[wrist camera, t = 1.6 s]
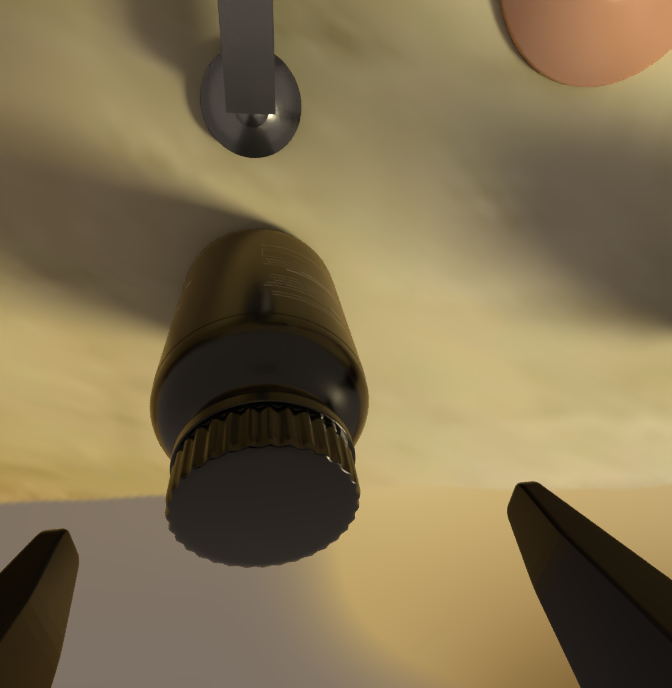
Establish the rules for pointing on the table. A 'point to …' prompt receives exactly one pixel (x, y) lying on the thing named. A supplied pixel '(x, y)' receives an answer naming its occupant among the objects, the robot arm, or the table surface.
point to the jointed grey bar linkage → (249, 84)
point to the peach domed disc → (589, 37)
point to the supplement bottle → (259, 404)
